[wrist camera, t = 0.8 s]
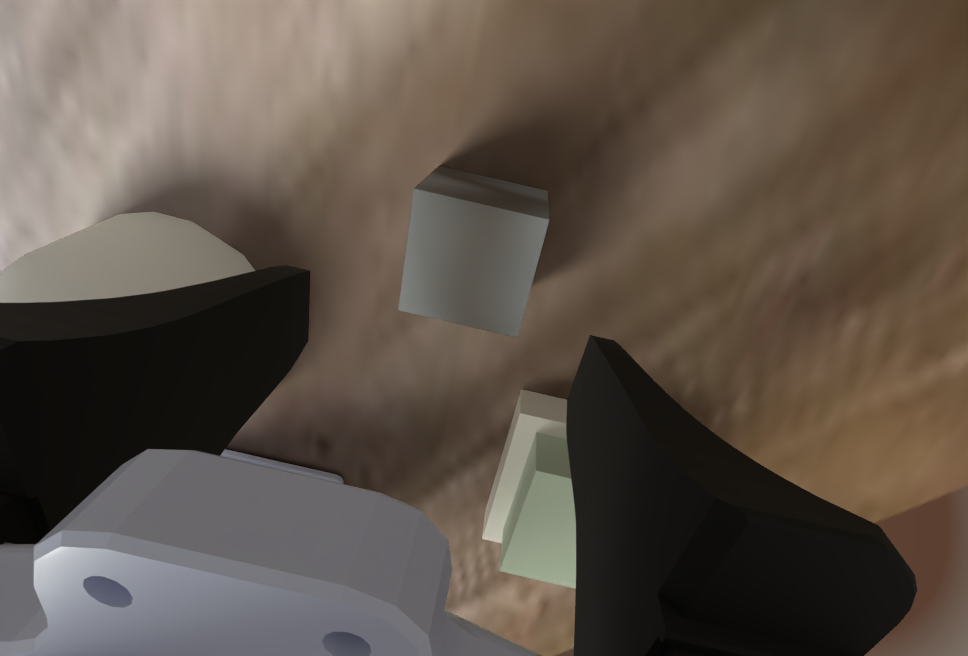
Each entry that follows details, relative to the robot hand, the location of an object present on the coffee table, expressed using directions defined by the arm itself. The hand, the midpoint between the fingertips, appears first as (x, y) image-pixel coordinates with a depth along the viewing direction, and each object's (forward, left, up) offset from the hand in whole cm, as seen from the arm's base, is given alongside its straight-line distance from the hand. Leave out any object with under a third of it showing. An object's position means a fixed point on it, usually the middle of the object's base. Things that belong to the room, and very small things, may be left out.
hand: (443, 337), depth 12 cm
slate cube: (0, 0, -10) cm, 10 cm away
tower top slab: (+8, -12, -8) cm, 16 cm away
